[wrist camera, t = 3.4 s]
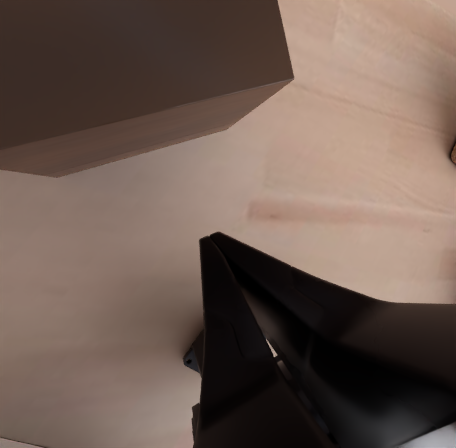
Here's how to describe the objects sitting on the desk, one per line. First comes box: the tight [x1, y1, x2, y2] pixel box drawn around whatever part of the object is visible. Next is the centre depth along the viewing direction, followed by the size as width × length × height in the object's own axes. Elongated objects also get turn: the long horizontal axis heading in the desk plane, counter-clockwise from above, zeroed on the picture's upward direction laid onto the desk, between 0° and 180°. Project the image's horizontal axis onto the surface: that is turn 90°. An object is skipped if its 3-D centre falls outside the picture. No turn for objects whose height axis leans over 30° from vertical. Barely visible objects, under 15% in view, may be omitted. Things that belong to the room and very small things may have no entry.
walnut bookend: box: [0, 0, 294, 178], centre depth 13 cm, size 12×14×10 cm
